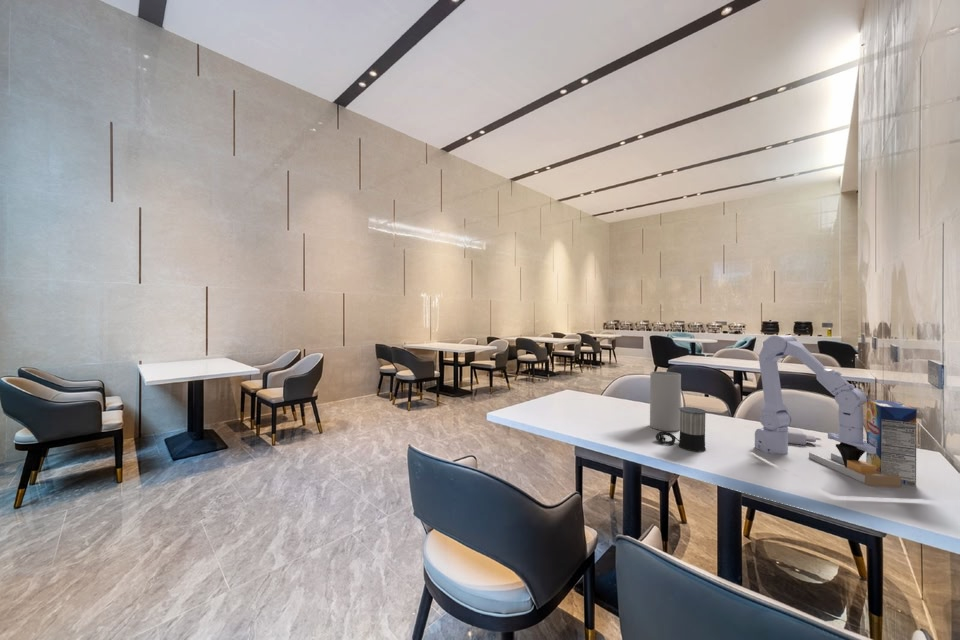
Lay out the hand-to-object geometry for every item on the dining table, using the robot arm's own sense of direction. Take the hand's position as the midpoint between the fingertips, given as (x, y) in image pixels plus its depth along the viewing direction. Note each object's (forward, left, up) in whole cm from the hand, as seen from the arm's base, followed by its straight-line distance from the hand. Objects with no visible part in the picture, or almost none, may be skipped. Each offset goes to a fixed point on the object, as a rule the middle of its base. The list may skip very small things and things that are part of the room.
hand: (850, 468), depth 119 cm
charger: (+8, +33, -2) cm, 34 cm away
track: (0, 0, -2) cm, 2 cm away
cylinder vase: (-39, +47, -2) cm, 61 cm away
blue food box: (+9, -3, -3) cm, 10 cm away
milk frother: (-43, +23, -2) cm, 49 cm away
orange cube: (0, -4, -1) cm, 4 cm away
